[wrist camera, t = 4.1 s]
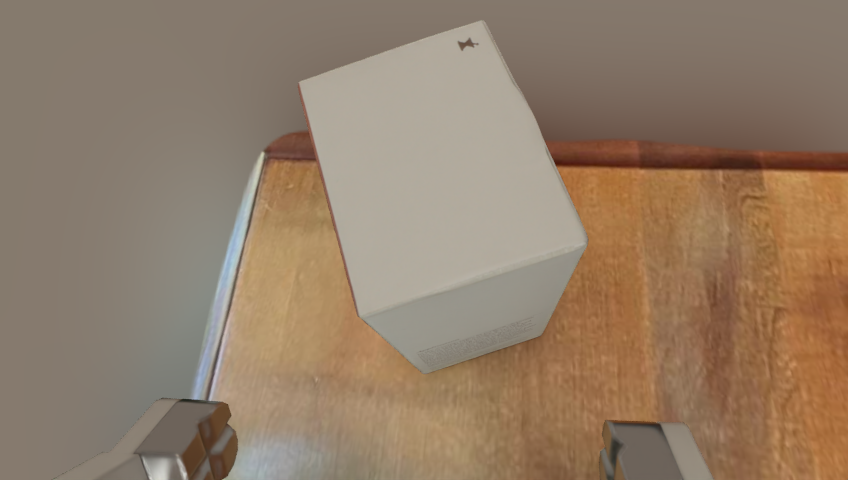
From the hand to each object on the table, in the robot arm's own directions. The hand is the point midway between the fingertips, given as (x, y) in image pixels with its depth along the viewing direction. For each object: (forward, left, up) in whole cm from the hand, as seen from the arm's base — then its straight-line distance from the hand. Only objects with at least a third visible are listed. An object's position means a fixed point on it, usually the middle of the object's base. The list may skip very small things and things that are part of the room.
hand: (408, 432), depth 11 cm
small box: (0, +7, -14) cm, 16 cm away
